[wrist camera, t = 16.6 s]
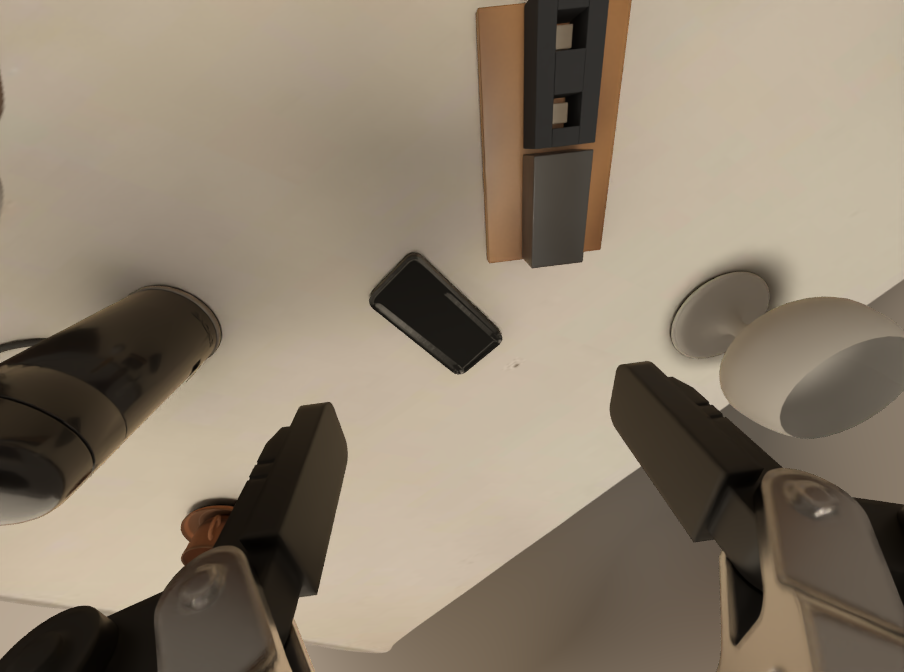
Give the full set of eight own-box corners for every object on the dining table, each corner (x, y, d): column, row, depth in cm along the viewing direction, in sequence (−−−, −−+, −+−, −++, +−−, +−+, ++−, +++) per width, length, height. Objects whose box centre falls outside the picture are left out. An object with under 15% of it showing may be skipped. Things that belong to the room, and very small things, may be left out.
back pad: (523, 148, 30) (534, 149, 27) (523, 5, 26) (538, -14, 22) (577, 142, 30) (595, 142, 27) (588, -2, 26) (611, -22, 23)
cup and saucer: (173, 503, 51) (144, 545, 46) (251, 492, 52) (232, 532, 46) (209, 546, 57) (188, 587, 52) (280, 535, 58) (265, 576, 52)
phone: (459, 377, 42) (364, 302, 36) (458, 372, 43) (365, 297, 37) (506, 338, 40) (414, 250, 34) (504, 333, 41) (414, 247, 35)
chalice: (797, 265, 40) (978, 323, 27) (739, 362, 47) (862, 446, 34) (689, 260, 38) (826, 319, 26) (646, 361, 45) (737, 449, 32)
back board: (487, 260, 36) (495, 275, 32) (475, 13, 26) (485, -12, 22) (595, 246, 37) (617, 259, 33) (624, -3, 27) (662, -30, 23)
